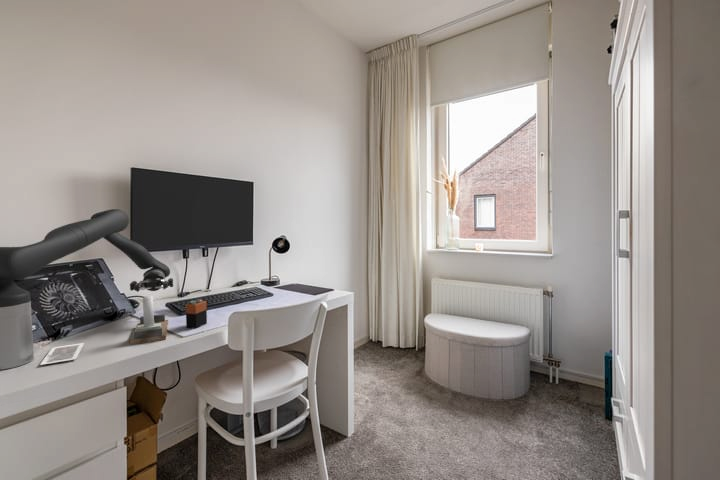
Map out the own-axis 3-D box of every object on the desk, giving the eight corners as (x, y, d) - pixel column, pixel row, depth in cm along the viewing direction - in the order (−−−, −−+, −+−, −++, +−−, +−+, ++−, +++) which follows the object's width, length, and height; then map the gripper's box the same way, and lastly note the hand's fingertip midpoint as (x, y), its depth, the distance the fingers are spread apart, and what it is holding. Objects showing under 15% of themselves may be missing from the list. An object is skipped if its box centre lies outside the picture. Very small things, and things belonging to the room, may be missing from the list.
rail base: (130, 344, 111) (130, 332, 110) (137, 327, 128) (137, 316, 128) (165, 339, 115) (165, 328, 115) (168, 323, 133) (167, 313, 133)
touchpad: (84, 346, 111) (84, 339, 110) (76, 362, 98) (75, 355, 98) (52, 351, 106) (52, 344, 106) (39, 368, 94) (39, 361, 94)
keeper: (136, 334, 113) (135, 299, 112) (137, 331, 117) (136, 297, 116) (160, 331, 116) (159, 297, 116) (161, 328, 120) (160, 294, 119)
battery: (185, 328, 128) (184, 302, 127) (197, 322, 134) (197, 297, 134) (195, 328, 127) (195, 302, 126) (207, 323, 133) (206, 298, 133)
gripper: (133, 272, 137) (127, 279, 122) (173, 269, 143) (172, 276, 129) (134, 290, 137) (128, 299, 123) (174, 287, 144) (173, 295, 130)
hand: (151, 287), depth 126 cm, fingers open, 8 cm apart
